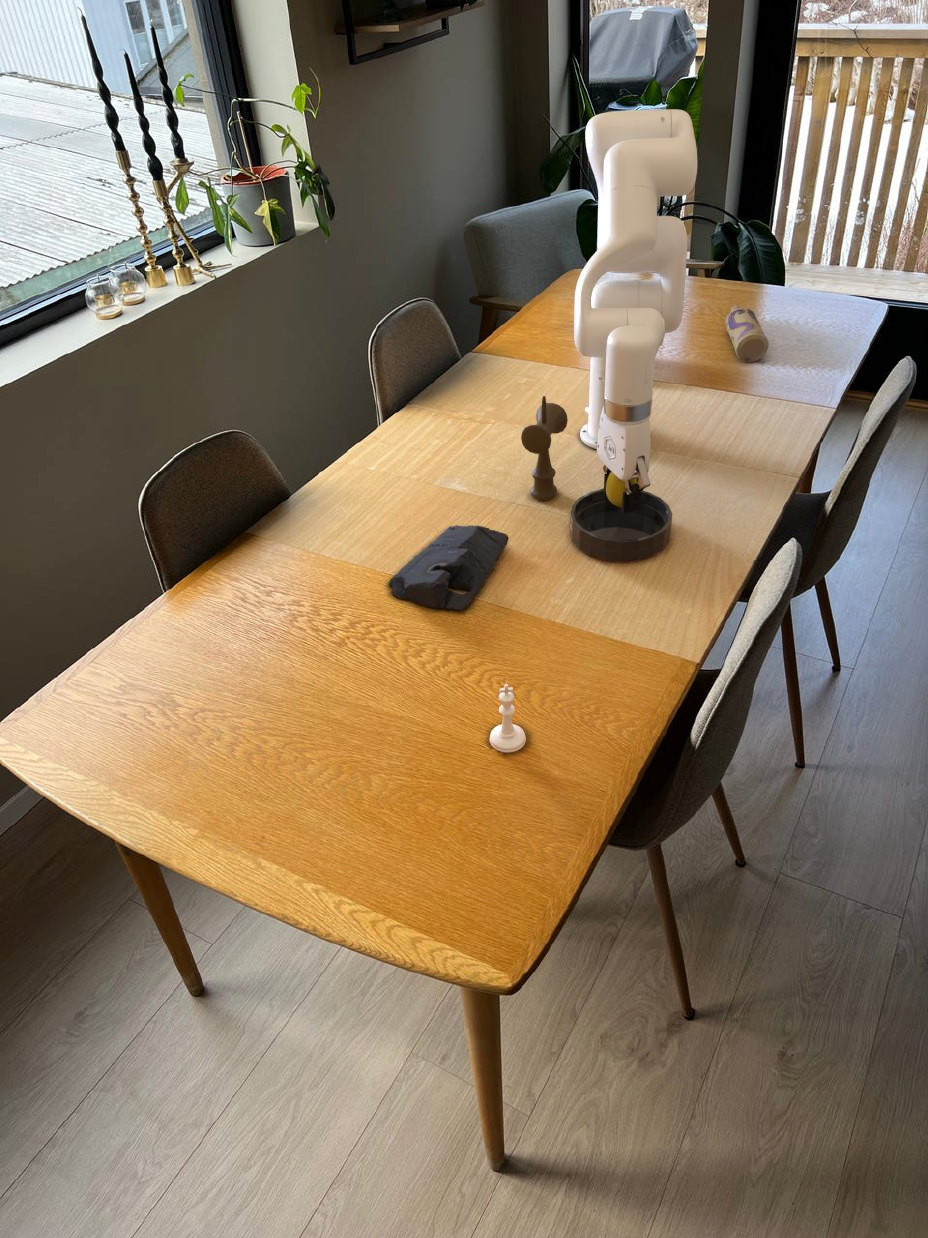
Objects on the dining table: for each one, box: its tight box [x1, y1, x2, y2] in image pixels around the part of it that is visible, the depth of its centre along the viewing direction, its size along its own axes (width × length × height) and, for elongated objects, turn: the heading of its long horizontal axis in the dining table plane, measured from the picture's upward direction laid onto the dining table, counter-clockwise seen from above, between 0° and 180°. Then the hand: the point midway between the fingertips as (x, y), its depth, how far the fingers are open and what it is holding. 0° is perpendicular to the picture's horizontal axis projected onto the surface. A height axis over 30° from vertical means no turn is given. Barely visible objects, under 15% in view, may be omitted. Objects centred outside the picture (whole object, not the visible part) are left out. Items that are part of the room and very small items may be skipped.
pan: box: [569, 488, 673, 563], centre depth 168 cm, size 17×17×4 cm
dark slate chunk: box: [388, 524, 509, 611], centre depth 162 cm, size 15×22×5 cm
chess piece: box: [489, 683, 527, 753], centre depth 129 cm, size 5×5×10 cm
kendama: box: [520, 395, 569, 501], centre depth 175 cm, size 6×10×20 cm, turn 157°
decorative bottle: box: [724, 304, 770, 363], centre depth 229 cm, size 26×8×7 cm, turn 176°
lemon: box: [606, 471, 637, 508], centre depth 164 cm, size 6×6×8 cm
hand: (621, 500), depth 166 cm, fingers closed on lemon, 5 cm apart
